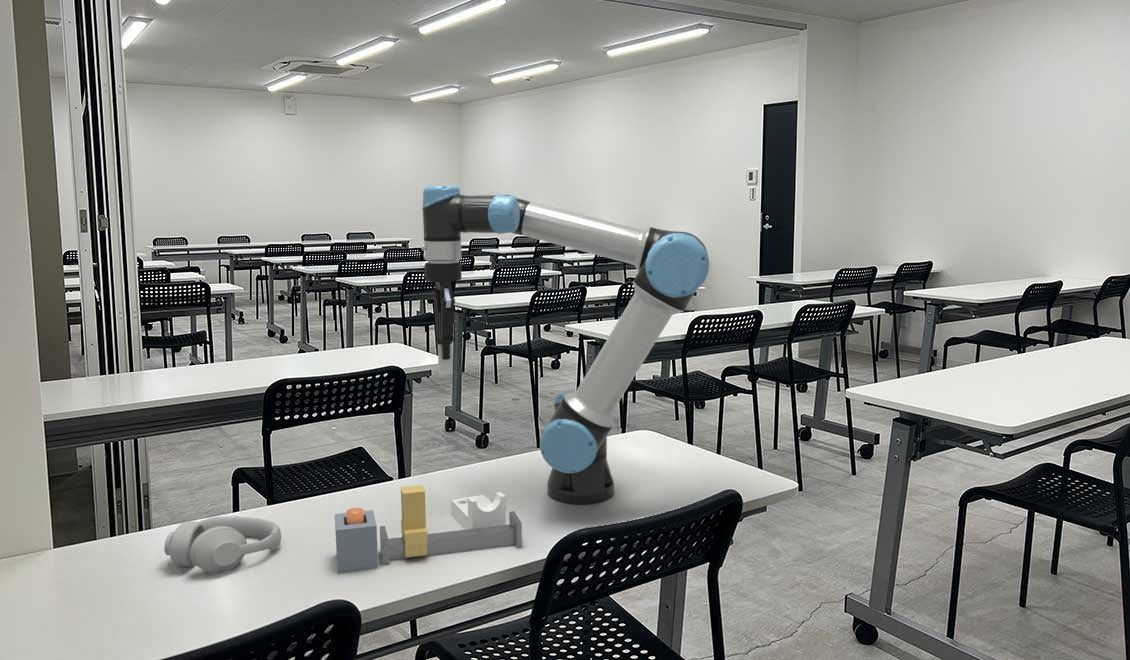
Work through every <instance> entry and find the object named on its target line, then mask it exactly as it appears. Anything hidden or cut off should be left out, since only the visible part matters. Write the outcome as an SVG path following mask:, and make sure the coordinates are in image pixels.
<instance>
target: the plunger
mask: <svg viewBox="0 0 1130 660" xmlns="http://www.w3.org/2000/svg"><path fill="white" fill-rule="evenodd" d="M363 511H364V509H363V508H362V507H351V508H349V509H347V510H346V512H345V513H346V514H347V525H351V524H360V523H364V514H363Z"/></svg>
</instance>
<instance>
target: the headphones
mask: <svg viewBox="0 0 1130 660" xmlns="http://www.w3.org/2000/svg"><path fill="white" fill-rule="evenodd" d="M251 537H252V538H251ZM247 538H251V539H257V538H258V539H257V540H260V541H256V542H250V543H247V542H248V541H247ZM281 540H282V533H281V527H279V525H277V523H275V522H274V521H270V520H267V519H263V518H257V517H251V516H250V517H247V516H237V515H232V516H223V515H222V516H214V517H213V516H212V517H208V518H206V519H203V520H200V521H183V522H182V523H180V524H179V526H177V528H176V529H175V531H171V532H170V533H168V535H167V536H166V538H165V543H164V546H163V547H164V548H163V550H164V554H165V556H169V557H170V561H171V563H172V565H174V566H176V567H180V568H181V567H188V568H191V567H195V566H196V567H198V568H199V569H201V570H202V571H204V572H206V573H207V572H208V573H211V574H217V573H225V572H227V571H229V570H231V569H233V568H234V567H236V566H237V565H238V564H240V563H241V561H242V560H243V559H244V557H245V555H250V554H253V553H257V552H263V551H267V550H270V551H273V552H274V551H277V549H278V548H279V547H280V545H281Z"/></svg>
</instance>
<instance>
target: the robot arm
mask: <svg viewBox="0 0 1130 660" xmlns="http://www.w3.org/2000/svg"><path fill="white" fill-rule="evenodd" d="M422 193H423V194H422V207H421V208H422V209H421V210H422V223H423V225H422V226H423V244H424V245H421V247H420V248H421V251H424V260H425V261H427V262H425V263H424V279H425V281H426V282H432V283H435V288H433V289H432V297H433V304H434V306H433V307H434V317H435V319H434V320H435V338H437V339H436V341H435V345H437V362H438V363H437V364H438V365H437V367H438V369H437V371H438V375H439V376H440V375H441V376H442V375H443V376H444V375H453V343H454V340H455V339H454V331H455V330H454V329H455V328H454V324H455V323H454V322H455V319H454V318H455V303H456V299H455V296H456V294H455V289H453V288H452V282H458V281H460V280H461V279H462V263H461V262H459V261H460V260H461V259H462V239H461V238H462V237H461V235H462V233H477V234H479V233H480V234H481V233H482V234H483V233H484V234H499V235H500V234H509V233H511V234H515V235H519V236H522V237H523V236H524V237H527V238H530V239H531V238H532V239H535V240H539V241H542V242H547V243H550V244H554V245H558V246H562V247H565V248H569V249H573V250H576V251H580V252H584V253H588V254H592V255H596V256H599V257H603V258H607V259H609V260H610V259H611V260H614V261H617V262H618V261H619V262H622V263H626V264H630V265H632V266H633V265H634V267H635V268H636V270H637V274H636V276H635V277H634V278H633V281H632V284H633V289H634V293H633V296H631V299H630V301H629V303H628V304H627V306H626V307H625V309H624V311H623V312H622V313H621V315H620V317H619V319H618V320H617V322H616V324H615V326H614V327H613V329H612V331H611V332H610V334H609V336H608V337H607V339H606V341H605V343H604V344H603V346H602V348H601V349H600V351H599V352H598V354H597V356H596V357H595V359H594V361H592V362H593V363H592V364H591V366H590V368H589V369H588V371H587V373H586V374H585V376H584V377H583V379H582V380H581V383H580V384H579V386H578V387H577V389H576V391H566V392H564V391H563V392H559V393H557V394H556V395H555V397H554V402H553V406H554V414H553V415H552V416H551V419H550V420H549V421H548V423H547V424H546V425H545V426H544V428H543V429H542V431H541V434H540V439H539V449H540V453H541V455H542V458H543V460H544V461H545V462H546V463H547V465H548V466H550V467H551V470H550V473H549V476H548V479H547V488H546V489H547V495H548V496H549V497H550V498H551V499H554V500H556V501H558V502H563V503H566V504H567V503H568V504H575V505H578V504H579V505H580V504H581V505H585V504H587V505H588V504H596V503H599V502H600V503H601V502H604V501H606V500H609V499H611V498H612V497H613V496H614V495H615V481H614V478H613V476H612V472H611V470H610V466H609V463H608V460H607V459H608V457H607V454H608V453H607V449H608V447H607V445H608V434H609V432H611V431H612V430H611V429H612V428H613V427H614V425H615V421H614V418H613V413H614V411H615V409H616V407H617V406H618V404H619V403H620V401H621V399H622V397H623V396H624V394H625V392H626V391H627V389H628V388H629V386H630V385H631V383H632V381H633V380H634V378H635V376H636V374H637V373H638V371H639V370H640V368H641V367H642V365H643V363H644V362H645V360H646V359H647V357H648V355H649V353H650V351H651V350H652V349H653V346H655V344H656V342H657V340H658V339H659V337H660V336H661V334H662V332H663V331H664V329H665V328H666V326H667V324H668V322H669V321H670V320H671V318H672V316H673V315H677V314H681V313H684V311H685V309H686V308H687V306H688V305H689V303H690V301H691V300H692V298H693V296H694V295H695V293H696V291H697V290H699V288H701V287H702V285H703V284H704V283H705V281H706V279H707V276H708V274H709V270H710V269H709V268H710V259H709V258H710V257H709V254H708V253H709V252H708V250H707V247H706V246H705V244H704V243H703V241H702V240H701V239H700V238H699V237H697V236H696V235H694V234H693V233H690V232H687V231H679V230H678V231H677V230H666V229H661V228H660V229H659V228H655V227H651V226H648V227H646V228H645V229H640V228H636V227H633V226H628V225H624V224H622V223H621V224H620V223H616V222H613V221H608V220H604V219H601V218H597V217H593V216H589V215H585V214H580V213H577V212H573V211H569V210H565V209H563V208H558V207H552V206H549V205H545V204H541V203H537V202H534V201H528V200H525V199H521V198H518V197H516V196H514V195H511V194H497V195H494V194H493V195H488V194H487V195H466V194H465V195H464V194H461V191H460V187H459V186H458V185H428V186H426V187H424V189H423V191H422Z"/></svg>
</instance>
